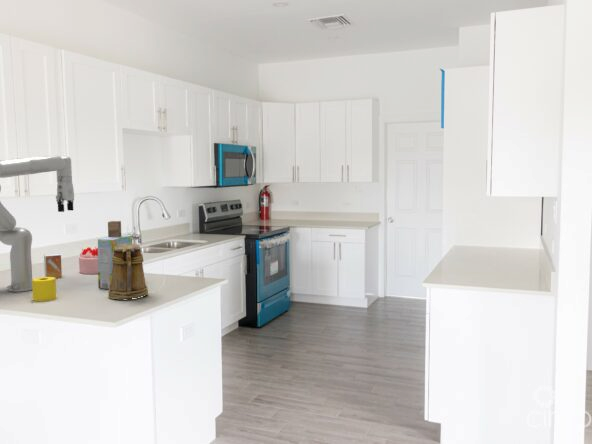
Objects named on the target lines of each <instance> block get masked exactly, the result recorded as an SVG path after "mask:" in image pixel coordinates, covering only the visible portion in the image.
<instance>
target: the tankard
mask: <svg viewBox="0 0 592 444" xmlns="http://www.w3.org/2000/svg"><path fill="white" fill-rule="evenodd" d="M112 262H113V268H112V278H111V287H110V289H108V298H109V299H111V300H114V299H117V300H116V301H124V300H123V299H132V298H138V297H141V296H144V295H147V294H148V295H149V289H148V286H147V283H146V278H145V272H144V266H143V263H144V256H143V253H142V252H141V246H140V245H139V244H137V243H132V244H128V243H125V244H120V245H117V246H115V247H114V255H113V256H112ZM148 295H147V296H148Z"/></svg>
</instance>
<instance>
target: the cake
mask: <svg viewBox="0 0 592 444" xmlns="http://www.w3.org/2000/svg"><path fill="white" fill-rule="evenodd" d="M78 266H79V267H78V268H79V273H80V274H82V275H98V247H96V246H94V248H93V249H92V248H91V247H87V248H84V249H83V248H81V252H80V253H79V256H78Z"/></svg>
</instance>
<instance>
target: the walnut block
mask: <svg viewBox="0 0 592 444" xmlns="http://www.w3.org/2000/svg"><path fill="white" fill-rule="evenodd" d="M107 231H108V232H107V234H108V235H107V237H120V236H121V235H122V221H121V220H118V221H117V220H110V221H108V222H107Z"/></svg>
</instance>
